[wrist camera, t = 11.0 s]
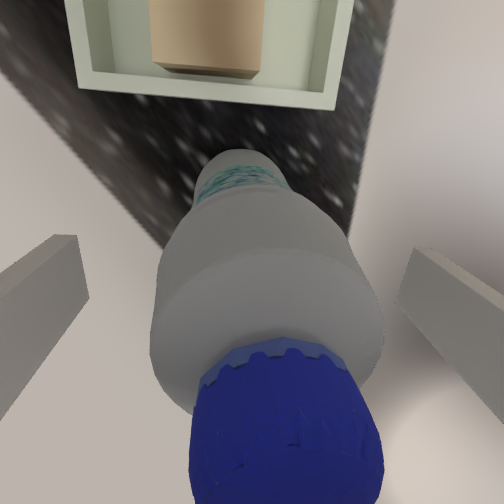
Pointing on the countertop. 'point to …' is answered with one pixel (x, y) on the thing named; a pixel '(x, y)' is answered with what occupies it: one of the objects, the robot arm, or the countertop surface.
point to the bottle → (268, 343)
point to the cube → (207, 36)
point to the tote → (209, 87)
